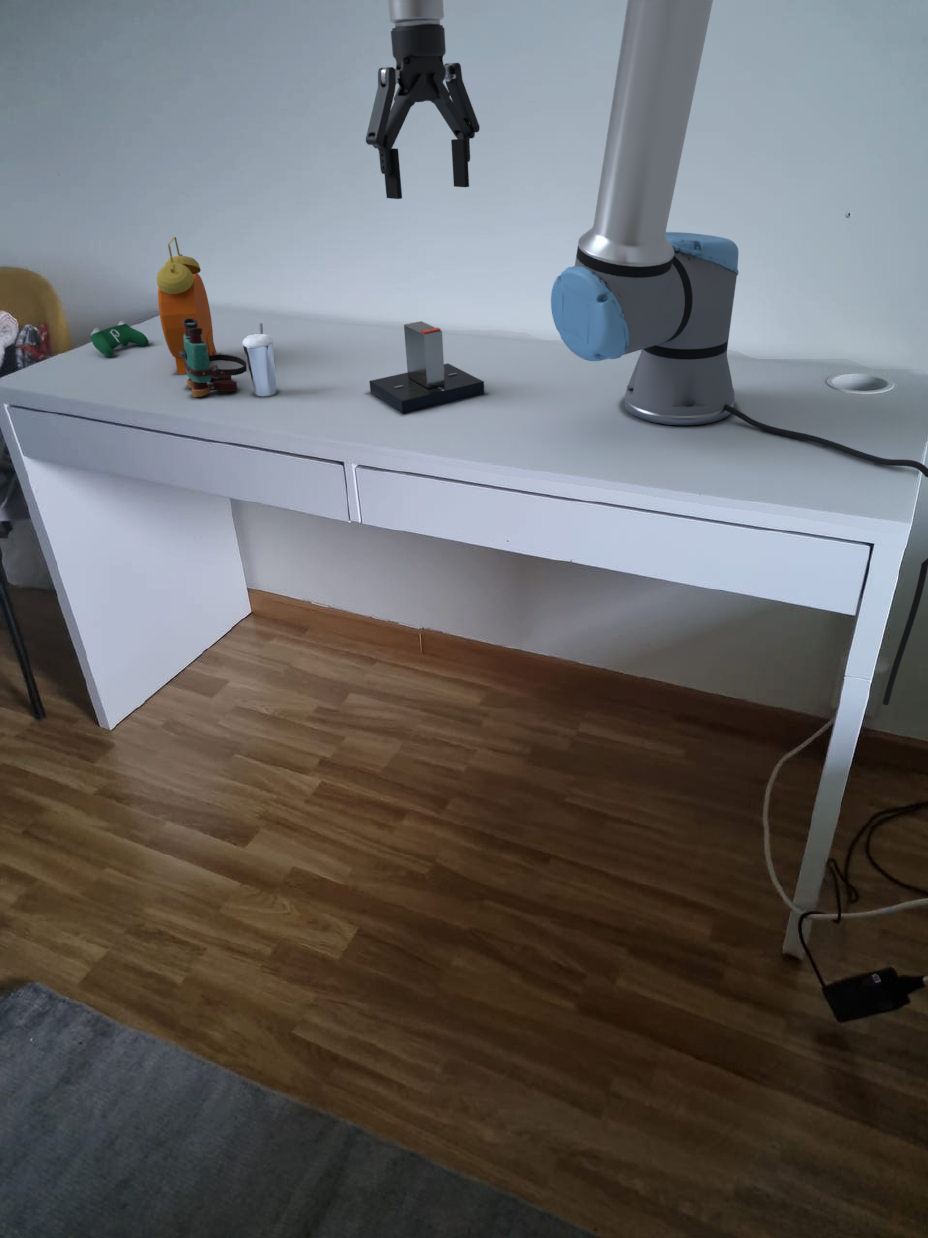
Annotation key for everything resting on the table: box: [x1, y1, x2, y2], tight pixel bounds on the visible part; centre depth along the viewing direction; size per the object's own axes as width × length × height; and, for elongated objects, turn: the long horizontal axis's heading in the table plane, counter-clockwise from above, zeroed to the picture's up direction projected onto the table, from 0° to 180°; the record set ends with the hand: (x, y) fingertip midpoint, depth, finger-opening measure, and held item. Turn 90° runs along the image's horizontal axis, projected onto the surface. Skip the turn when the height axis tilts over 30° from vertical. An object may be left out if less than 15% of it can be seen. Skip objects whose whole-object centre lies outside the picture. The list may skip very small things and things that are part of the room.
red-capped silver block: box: [403, 321, 445, 388], centre depth 133 cm, size 6×3×8 cm, turn 30°
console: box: [369, 363, 485, 415], centre depth 136 cm, size 14×11×2 cm
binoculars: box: [179, 318, 248, 398], centre depth 140 cm, size 9×11×10 cm
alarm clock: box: [156, 236, 218, 375], centre depth 148 cm, size 13×6×20 cm, turn 6°
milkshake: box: [241, 322, 277, 398], centre depth 137 cm, size 4×5×10 cm
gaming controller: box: [90, 319, 150, 358], centre depth 162 cm, size 9×4×6 cm
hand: (428, 192), depth 135 cm, fingers open, 13 cm apart
